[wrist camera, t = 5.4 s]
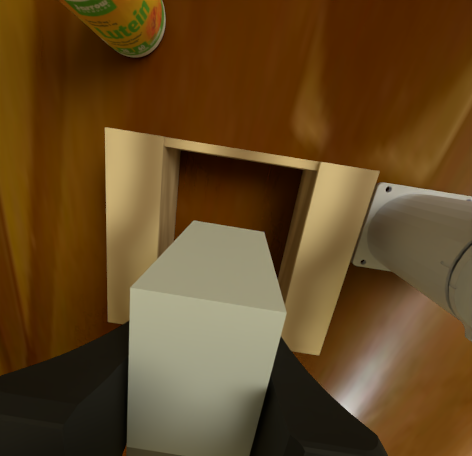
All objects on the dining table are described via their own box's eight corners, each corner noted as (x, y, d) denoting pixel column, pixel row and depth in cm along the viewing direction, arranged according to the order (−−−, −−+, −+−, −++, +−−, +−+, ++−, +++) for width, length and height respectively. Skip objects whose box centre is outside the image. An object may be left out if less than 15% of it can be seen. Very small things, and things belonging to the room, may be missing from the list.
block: (264, 232, 12) (286, 312, 5) (241, 345, 14) (237, 502, 8) (193, 220, 12) (130, 287, 5) (181, 335, 14) (125, 484, 8)
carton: (350, 170, 19) (379, 171, 15) (306, 322, 24) (319, 355, 20) (135, 135, 19) (104, 127, 15) (131, 294, 24) (107, 321, 19)
